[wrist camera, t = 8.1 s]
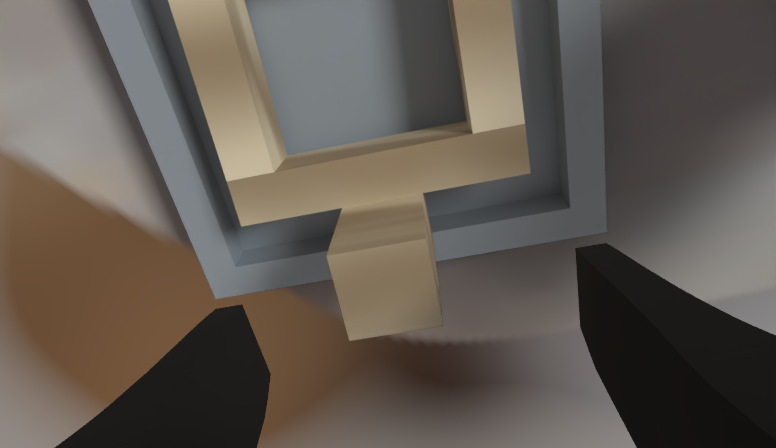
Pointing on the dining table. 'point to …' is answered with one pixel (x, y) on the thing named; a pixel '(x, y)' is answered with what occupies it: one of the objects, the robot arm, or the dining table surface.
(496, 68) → the tan frame with tab
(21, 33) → the dining table surface
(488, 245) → the slate tray
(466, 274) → the dining table surface
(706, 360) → the robot arm
